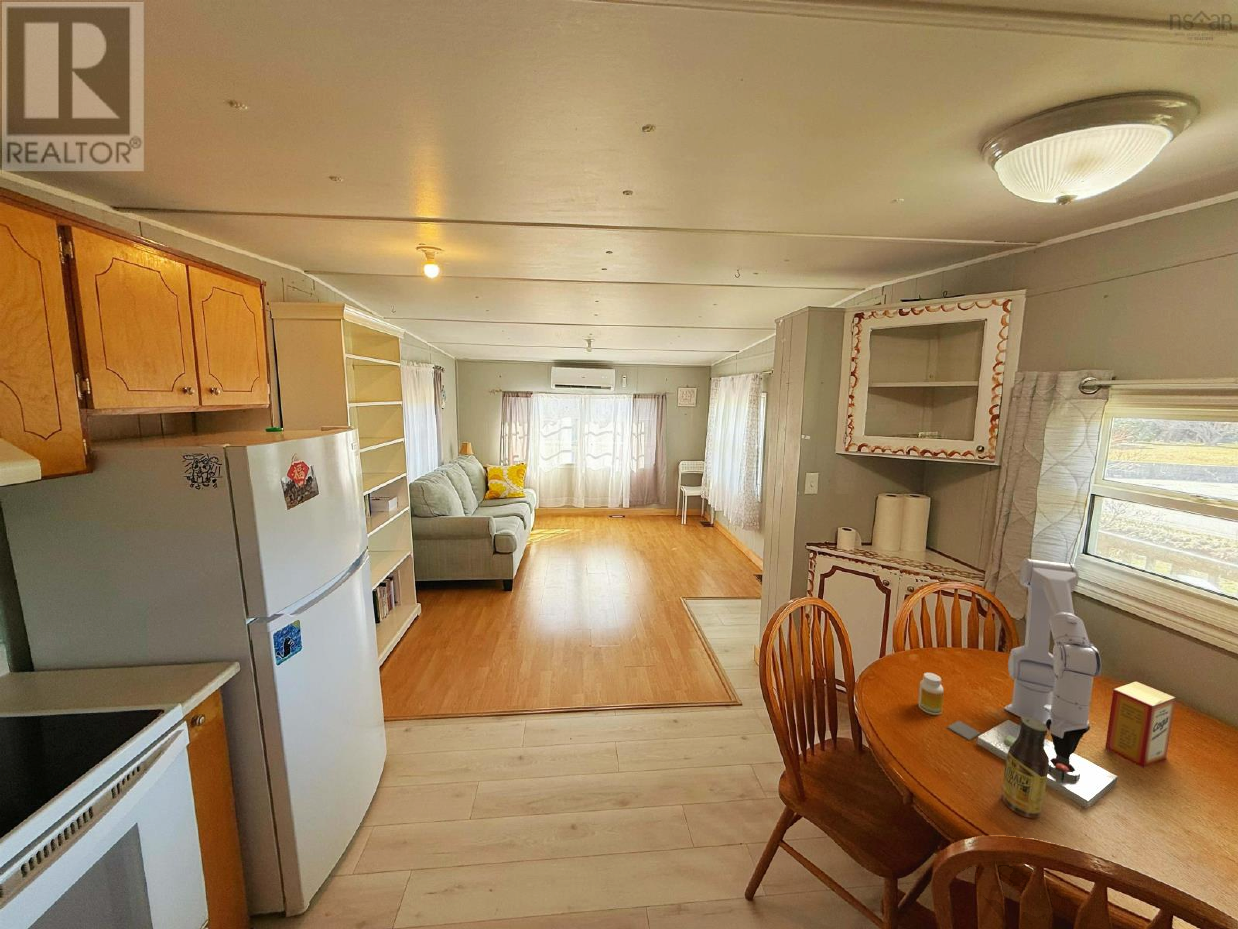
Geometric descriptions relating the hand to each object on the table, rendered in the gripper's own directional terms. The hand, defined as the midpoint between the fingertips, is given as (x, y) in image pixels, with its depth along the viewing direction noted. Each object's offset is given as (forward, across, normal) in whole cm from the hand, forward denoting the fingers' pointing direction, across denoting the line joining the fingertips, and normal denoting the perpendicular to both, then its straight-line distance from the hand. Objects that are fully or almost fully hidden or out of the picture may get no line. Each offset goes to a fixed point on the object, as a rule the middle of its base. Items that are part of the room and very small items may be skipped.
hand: (1064, 753), depth 99 cm
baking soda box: (+7, -26, +6) cm, 27 cm away
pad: (+5, -1, -9) cm, 10 cm away
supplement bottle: (+7, 0, -27) cm, 28 cm away
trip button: (+5, 0, 0) cm, 5 cm away
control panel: (+6, -2, -4) cm, 8 cm away
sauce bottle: (+7, +17, -2) cm, 18 cm away
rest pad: (+6, +1, -18) cm, 19 cm away
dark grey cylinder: (+2, 0, 0) cm, 2 cm away
